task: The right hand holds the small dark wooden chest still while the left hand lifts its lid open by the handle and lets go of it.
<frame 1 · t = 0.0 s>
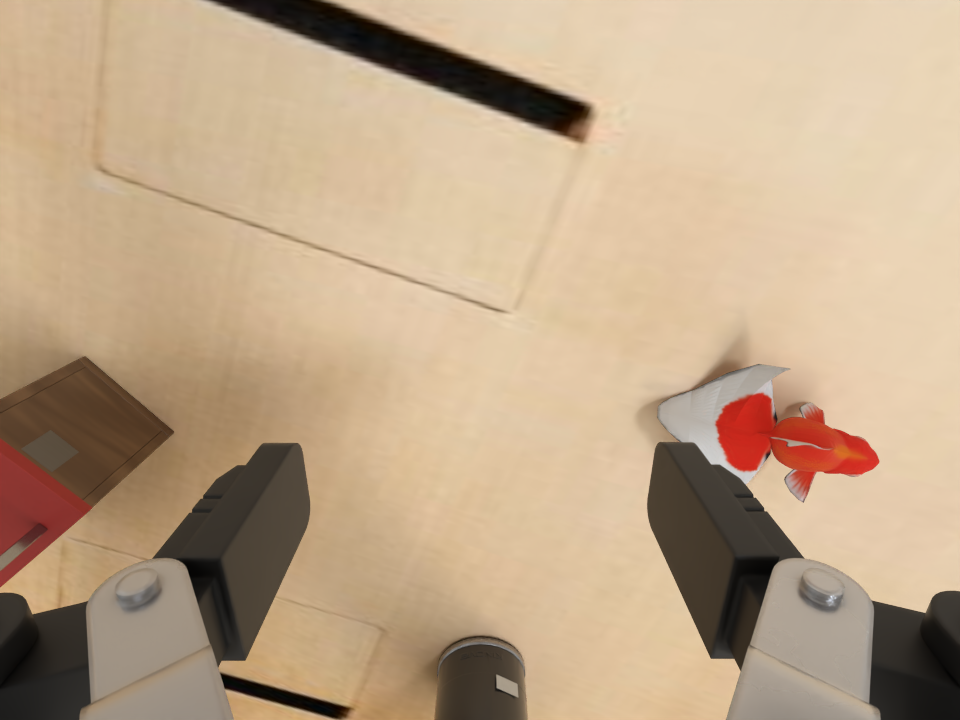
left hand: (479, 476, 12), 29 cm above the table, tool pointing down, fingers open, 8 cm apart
chest: (80, 441, 45), on the table
fish: (736, 413, 44), on the table
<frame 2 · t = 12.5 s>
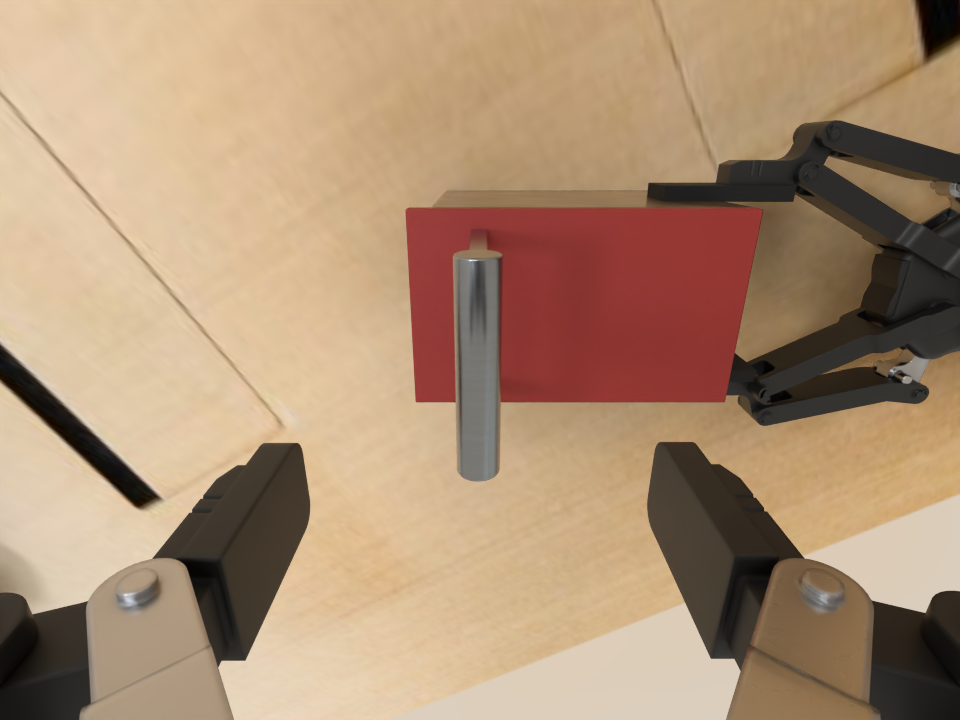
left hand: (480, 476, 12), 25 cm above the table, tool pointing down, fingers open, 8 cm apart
right hand: (644, 285, 29), fingers closed on chest, 9 cm apart
lid: (591, 337, 20), point 15 cm above the table, hinge at 0.0°
chest: (553, 262, 35), on the table, touching right hand
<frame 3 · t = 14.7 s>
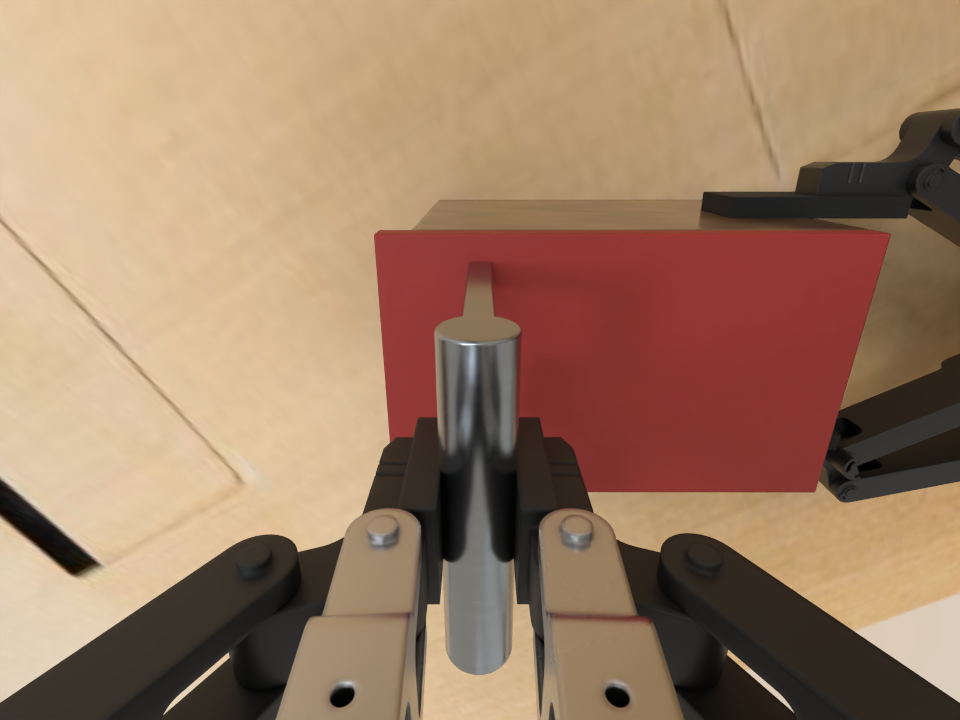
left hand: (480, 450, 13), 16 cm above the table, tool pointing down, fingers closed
lid: (647, 427, 14), point 15 cm above the table, hinge at -0.1°, touching left hand
chest: (572, 288, 28), on the table, touching right hand
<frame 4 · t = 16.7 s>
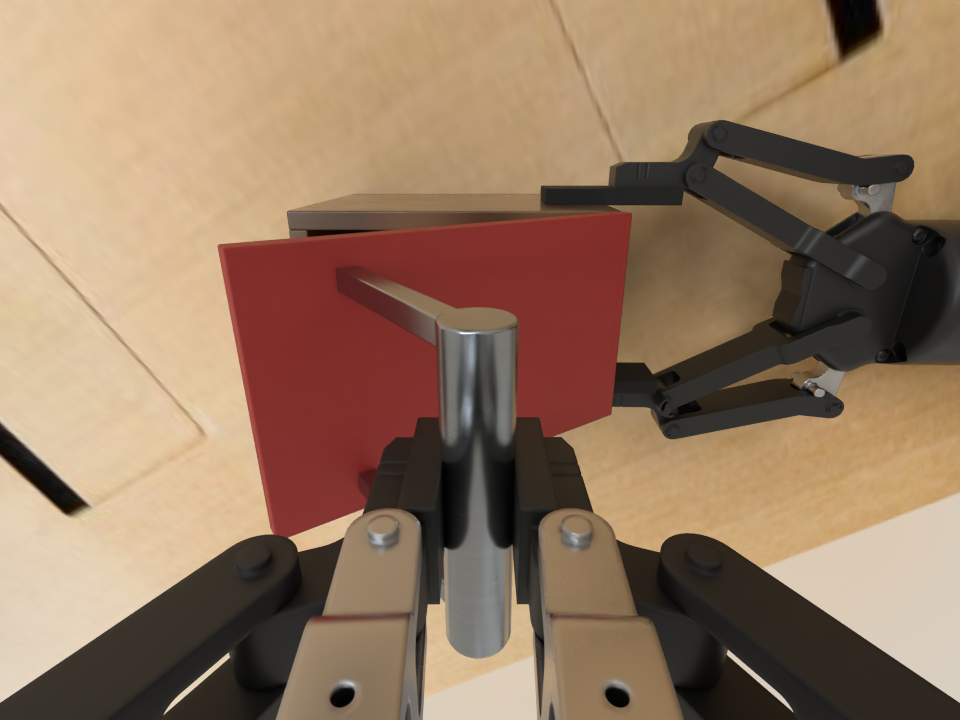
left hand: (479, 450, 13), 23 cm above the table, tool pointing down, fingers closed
right hand: (539, 291, 28), fingers closed on chest, 9 cm apart
lid: (537, 389, 16), point 19 cm above the table, hinge at 35.9°, touching left hand
chest: (467, 267, 34), on the table, touching right hand
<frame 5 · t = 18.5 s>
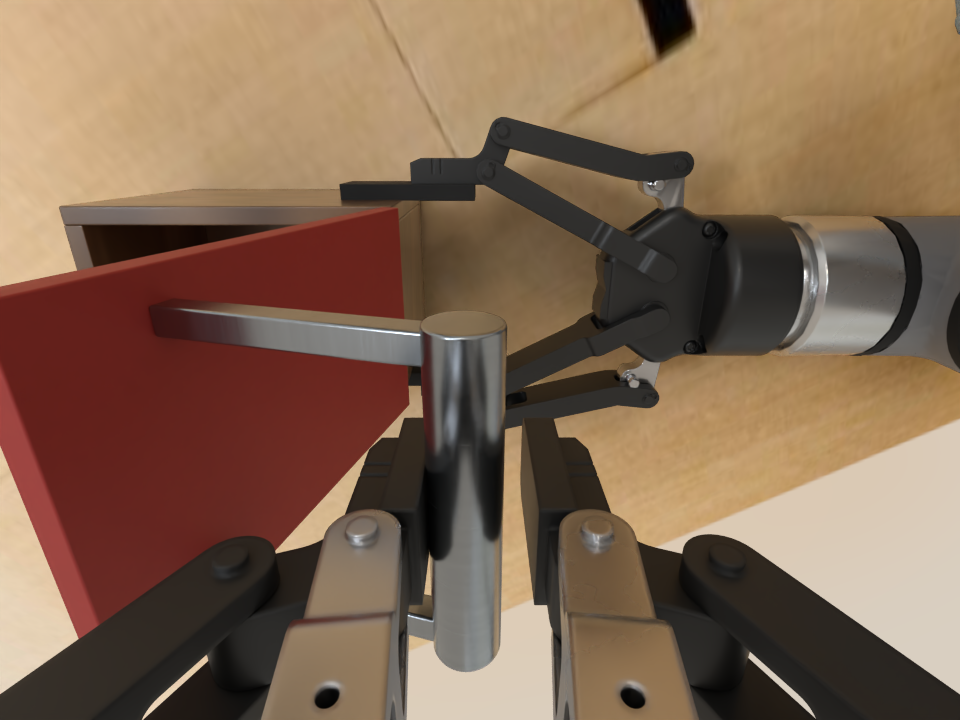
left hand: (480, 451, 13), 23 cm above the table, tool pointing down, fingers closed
right hand: (356, 286, 28), fingers closed on chest, 9 cm apart
lid: (403, 393, 15), point 20 cm above the table, hinge at 73.8°
chest: (314, 262, 34), on the table, touching right hand
when the right hand's fingers open (6 cm above the table, at t = 22.3 s): chest stays where it is, on the table.
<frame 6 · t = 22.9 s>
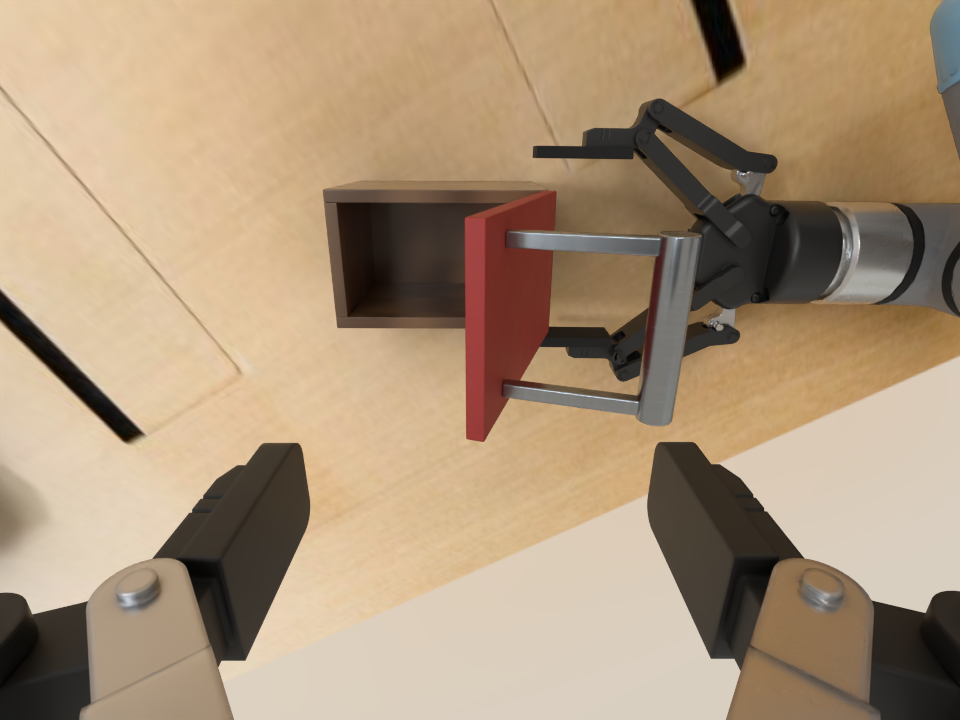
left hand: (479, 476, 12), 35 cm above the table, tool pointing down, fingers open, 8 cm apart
right hand: (529, 250, 38), fingers open, 13 cm apart
lid: (592, 298, 26), point 20 cm above the table, hinge at 72.6°
chest: (447, 237, 44), on the table
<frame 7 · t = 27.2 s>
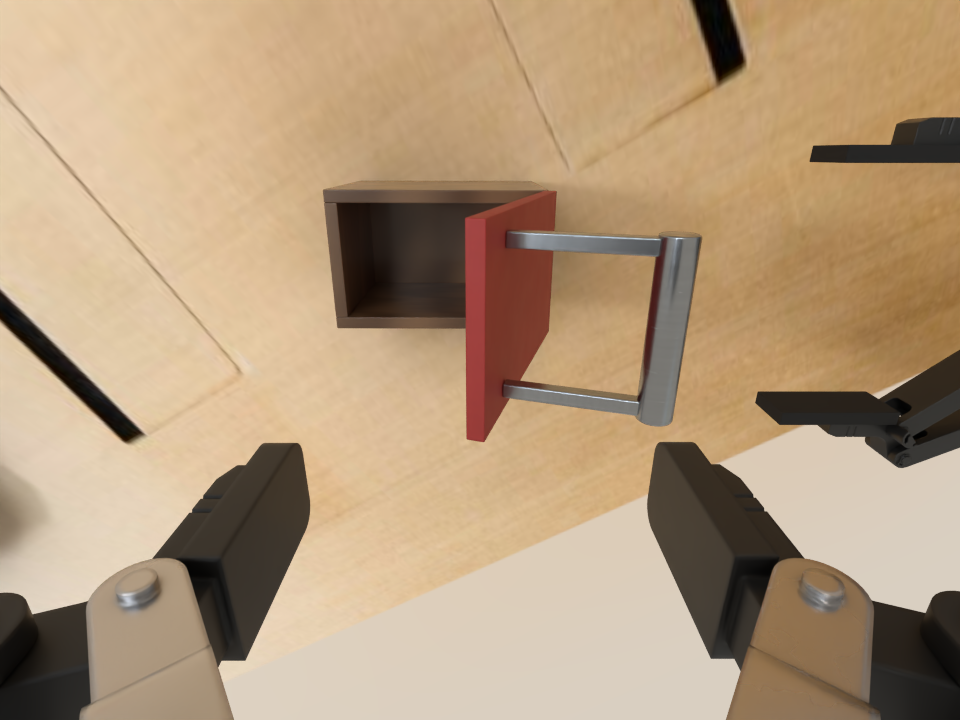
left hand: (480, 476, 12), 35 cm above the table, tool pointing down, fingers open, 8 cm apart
lid: (592, 298, 26), point 20 cm above the table, hinge at 72.6°
chest: (447, 237, 44), on the table
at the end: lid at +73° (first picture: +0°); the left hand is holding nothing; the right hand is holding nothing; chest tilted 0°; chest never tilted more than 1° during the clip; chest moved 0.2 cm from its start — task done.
